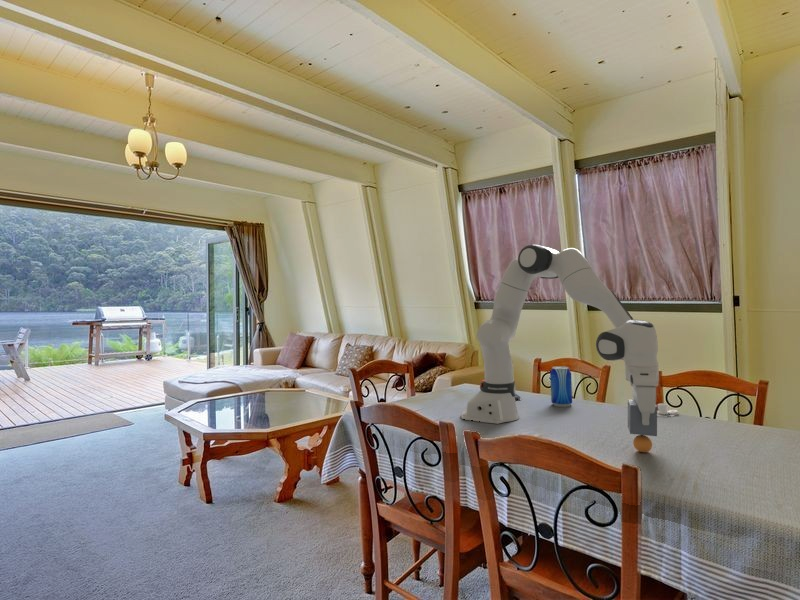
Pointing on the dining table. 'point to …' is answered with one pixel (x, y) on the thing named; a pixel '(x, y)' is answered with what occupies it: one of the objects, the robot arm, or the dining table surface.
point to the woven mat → (517, 397)
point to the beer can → (561, 386)
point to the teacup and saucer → (665, 410)
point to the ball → (642, 443)
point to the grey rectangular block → (636, 420)
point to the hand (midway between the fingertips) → (643, 420)
